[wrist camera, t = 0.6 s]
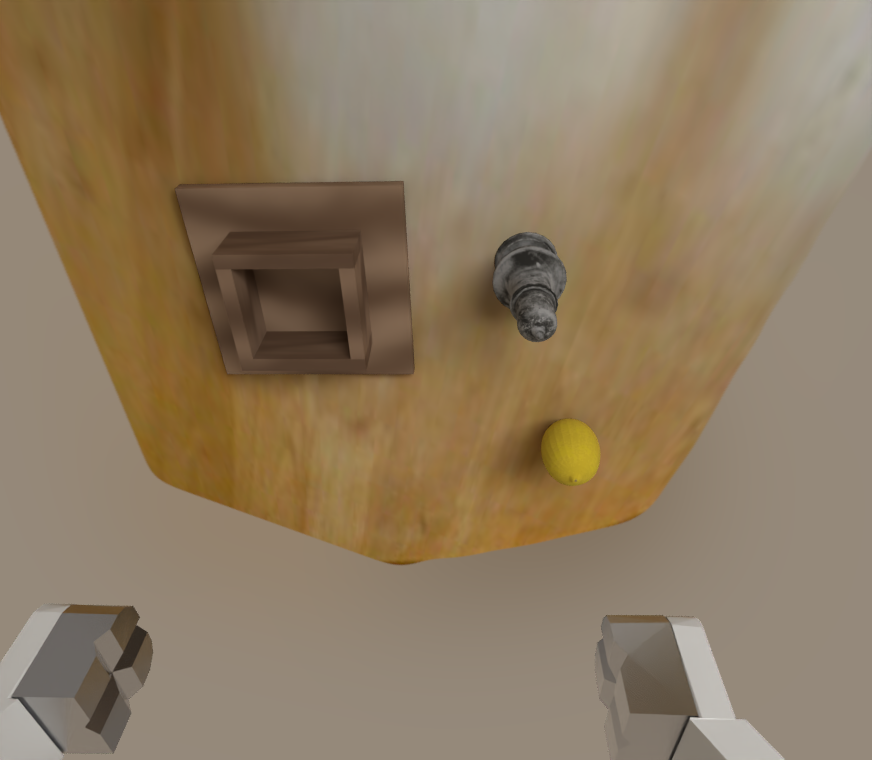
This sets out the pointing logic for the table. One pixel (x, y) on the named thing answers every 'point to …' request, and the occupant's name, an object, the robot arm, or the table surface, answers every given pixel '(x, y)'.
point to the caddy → (304, 275)
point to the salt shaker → (530, 283)
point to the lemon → (570, 452)
